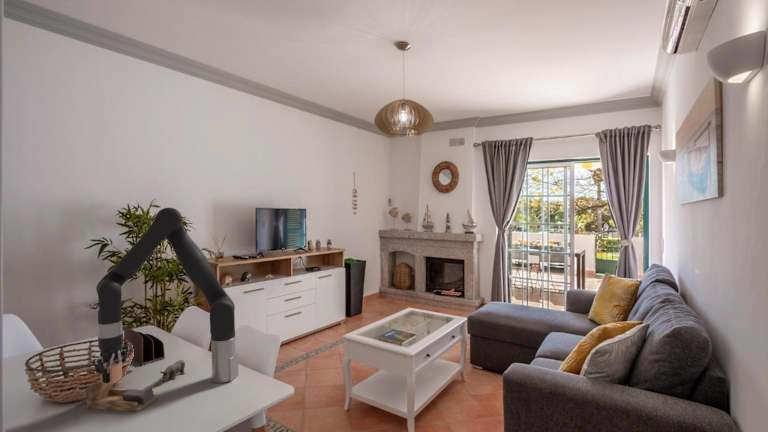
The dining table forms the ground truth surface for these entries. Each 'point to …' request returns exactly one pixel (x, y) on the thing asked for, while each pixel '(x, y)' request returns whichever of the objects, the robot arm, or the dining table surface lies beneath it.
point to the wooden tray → (111, 398)
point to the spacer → (114, 373)
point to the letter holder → (145, 347)
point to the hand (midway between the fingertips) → (112, 379)
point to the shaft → (138, 395)
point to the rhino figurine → (173, 370)
